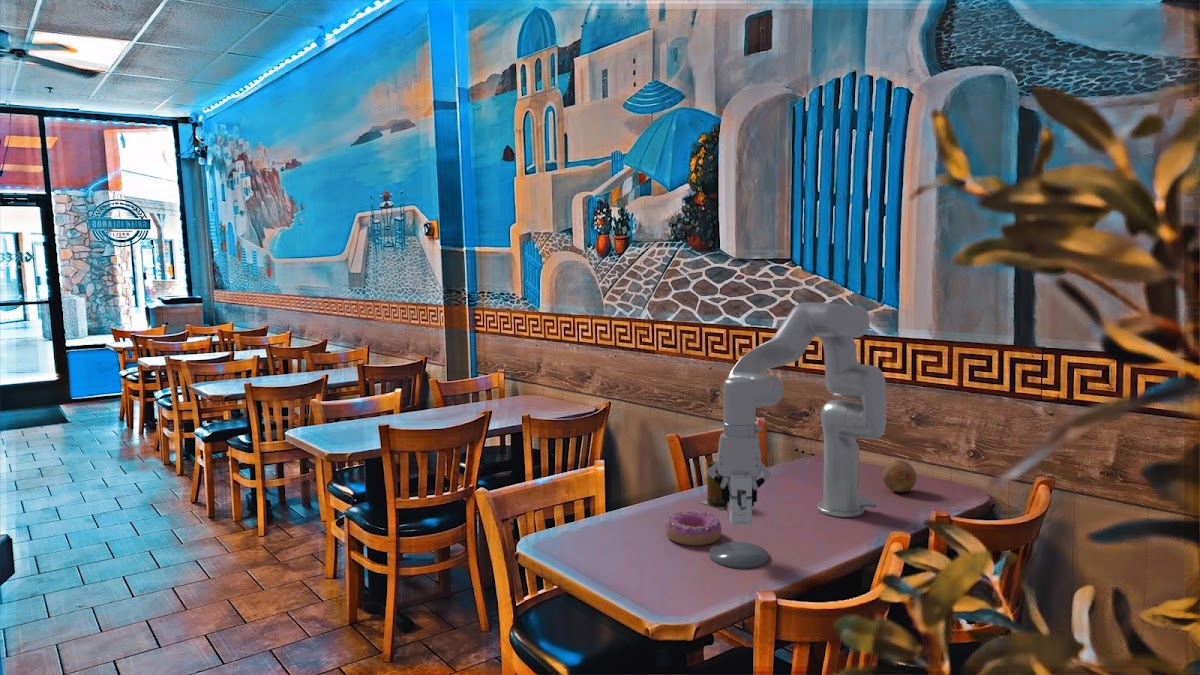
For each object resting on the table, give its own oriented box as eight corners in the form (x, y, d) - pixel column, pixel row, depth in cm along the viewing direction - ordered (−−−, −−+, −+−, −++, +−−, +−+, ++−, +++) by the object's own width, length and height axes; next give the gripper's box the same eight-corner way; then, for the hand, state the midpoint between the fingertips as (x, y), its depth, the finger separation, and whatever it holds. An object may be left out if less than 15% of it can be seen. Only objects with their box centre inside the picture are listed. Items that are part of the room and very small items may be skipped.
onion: (923, 494, 227) (924, 461, 226) (898, 498, 223) (899, 465, 222) (899, 485, 236) (900, 454, 235) (874, 489, 232) (875, 457, 231)
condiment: (717, 497, 227) (717, 458, 225) (738, 504, 220) (739, 464, 219) (700, 503, 222) (700, 463, 221) (722, 510, 215) (722, 469, 214)
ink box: (726, 513, 185) (726, 466, 184) (746, 513, 185) (746, 466, 184) (731, 525, 177) (731, 476, 175) (752, 525, 176) (752, 476, 175)
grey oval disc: (768, 547, 187) (768, 543, 187) (768, 570, 173) (768, 566, 173) (711, 543, 190) (711, 540, 190) (707, 565, 176) (707, 561, 176)
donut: (717, 550, 186) (717, 531, 185) (660, 545, 190) (660, 525, 190) (724, 530, 200) (724, 512, 199) (671, 525, 204) (671, 507, 203)
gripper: (776, 427, 180) (775, 500, 182) (704, 425, 184) (704, 497, 186) (776, 434, 173) (776, 511, 175) (701, 432, 177) (701, 507, 179)
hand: (739, 503), depth 180 cm, fingers closed on ink box, 5 cm apart
